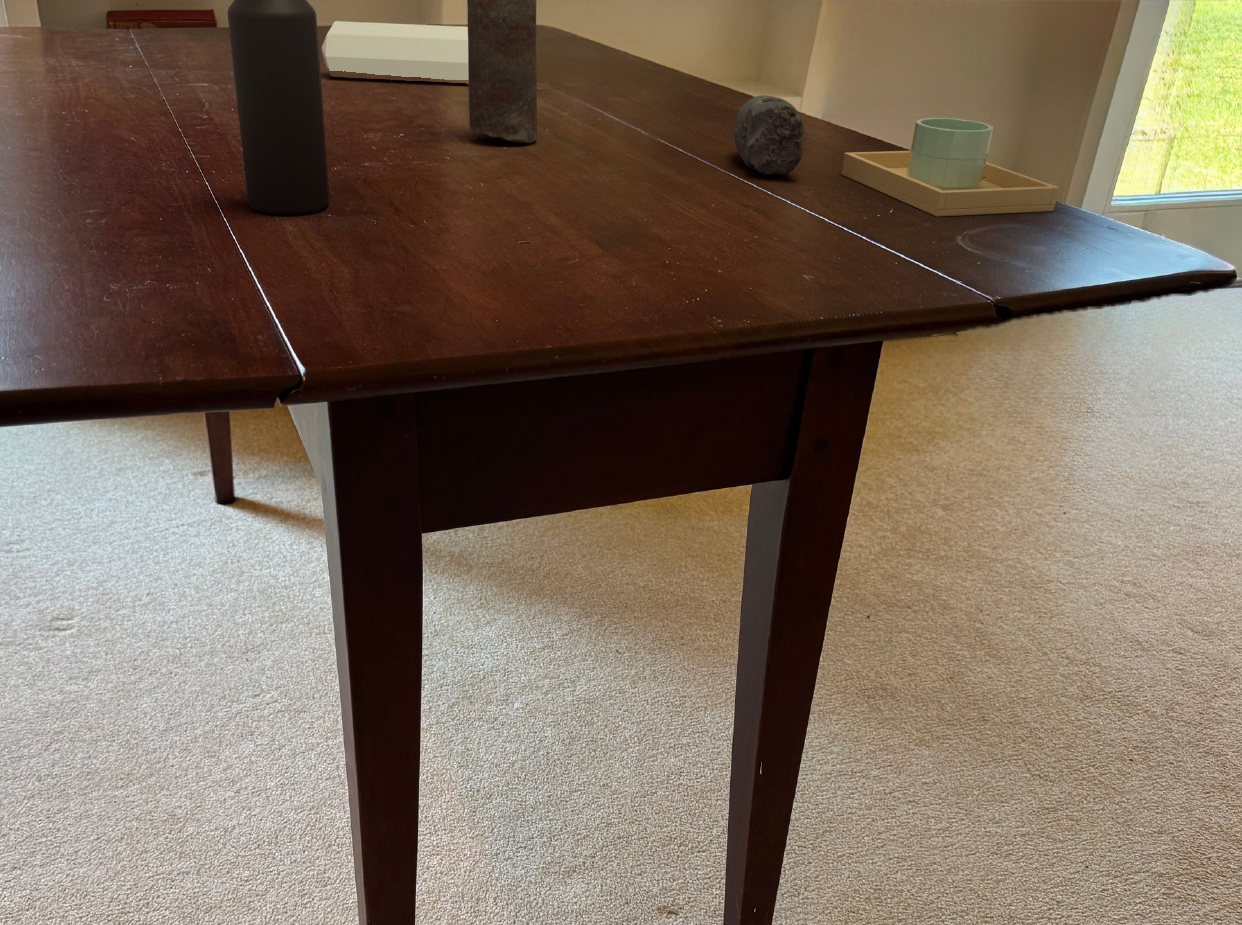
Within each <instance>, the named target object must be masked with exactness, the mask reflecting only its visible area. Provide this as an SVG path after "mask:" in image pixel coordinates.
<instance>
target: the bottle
mask: <svg viewBox="0 0 1242 925" xmlns="http://www.w3.org/2000/svg"><path fill="white" fill-rule="evenodd" d="M316 12H317V11H316V10H315V9H314V7H313V6H312V5H311V3H310V2H309V1H308V0H233V1H232V2H231V4H230V5H229V7H228V9H227V22H228V23H227V24H228V30H229V31H228V32H229V40H230V50H231V58H232V59H231V61H232V69H233V77H234V84H235V85H234V86H235V95H236V96H235V97H236V105H237V114H238V123H239V132H240V142H241V150H242V159H243V160H242V161H243V170H244V178H245V186H246V187H245V188H246V196H247V202H248V205H249V207H250V208H251V209H252V210H254V211H256V212H259V213H263V214H268V215H276V216H295V215H305V214H311V213H315V212H316V213H317V212H319V211H322V210H324V209H326V208H327V207H328V206H329V204H330V202H331V201H330V200H331V199H330V198H331V197H330V188H329V187H330V186H329V185H330V184H329V173H328V172H329V171H328V159H327V156H328V155H327V144H326V131H325V117H324V105H323V104H324V103H323V89H322V88H323V87H322V76H321V73H322V72H321V61H320V48H319V45H320V44H319V34H318V32H319V31H318V20H317V18H318V17H317V13H316Z"/></svg>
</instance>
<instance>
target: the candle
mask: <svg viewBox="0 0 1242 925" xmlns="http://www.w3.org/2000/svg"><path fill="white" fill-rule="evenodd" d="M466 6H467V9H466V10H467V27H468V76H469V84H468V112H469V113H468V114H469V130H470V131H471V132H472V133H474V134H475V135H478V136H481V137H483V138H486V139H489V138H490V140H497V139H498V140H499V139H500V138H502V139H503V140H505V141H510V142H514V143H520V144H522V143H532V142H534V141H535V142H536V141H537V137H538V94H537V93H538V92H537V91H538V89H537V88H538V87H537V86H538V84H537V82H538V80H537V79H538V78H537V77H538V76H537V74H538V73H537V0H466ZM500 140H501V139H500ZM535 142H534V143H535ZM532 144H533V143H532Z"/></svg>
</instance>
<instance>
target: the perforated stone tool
mask: <svg viewBox="0 0 1242 925" xmlns="http://www.w3.org/2000/svg"><path fill="white" fill-rule="evenodd" d="M733 134H734V138H733V139H734V144H735V148H736V151H737V153H738V156H740V158H741V160H742V161H743V162H744V164H745V165H746V167H748V168H749V169H751V170H753V171H755V170H756V171H757V172H758V173H760V174H761V175H762V174H763V175H769V176H772V175H787V174H789V173H790V172H793V171H794V170H795V169H796V168H797V167H798V165H799V164H800V162H801V160H802V158H803V154H804V151H805V150H804V149H805V142H806V131H805V123H804V120H803V117H802V115H801V114H800V112H799V111H798V109H797V108H796V107H795V106H794V105H793V104H791V103H790V102H789V101H788V100H785V99H783V98H781V97H776V96H772V95H766V94H765V95H757V96H754V97H751V98H750V99H748V100H747V101H745V103H743V105H742V106H741V108H740V109H739V111H738V114H737V116H736V120H735V123H734V130H733Z"/></svg>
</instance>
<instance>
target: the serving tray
mask: <svg viewBox="0 0 1242 925" xmlns="http://www.w3.org/2000/svg"><path fill="white" fill-rule="evenodd" d="M910 152H911V150H894V151H893V150H891V151H890V150H889V151H861V152H860V151H859V152H844V154H843V161H842V167H841V175H842V176H844V177H847V178H849V179H851V180H854V181H856V182H857V183H860V184H862V185H865V186H867V187H869V188H871V189H874V190H875V191H878V192H880V193H883V194H885V195H886V196H890V197H892V198H894V199H895V200H898V201H901V202H903V203H905V204H907V205H909V206H912V207H914V208H917V209H919V210H921V211H923V212H925V213H927V214H930V215H932V216H934V217H938V218H939V217H955V216H957V217H959V216H977V215H978V216H979V215H997V214H1020V213H1021V214H1023V213H1041V212H1053V211H1054V210H1055V207H1056V204H1057V200H1058V196H1059V192H1060V186H1056V185H1054V184H1051V183H1048V182H1044V181H1042V180H1039V179H1036V178H1034V177H1031V176H1027V175H1025V174H1022V173H1019V172H1016V171H1013V170H1010V169H1008V168H1005V167H1002V166H999V165H996V164H993V163H990V162H987V161H986V164H985V168H984V173H983V177H986V178H983V177H982V182H981V184H980V185H979V186H977V189H972V190H948V191H943V190H940V189H938V188H935V187H933V186H930V185H928V184H926V183H923V182H921V181H918V180H916V179H913V178H911V177H908V176H906V173H907V168H908V162H909V157H910ZM1010 186H1011V187H1010Z"/></svg>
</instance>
